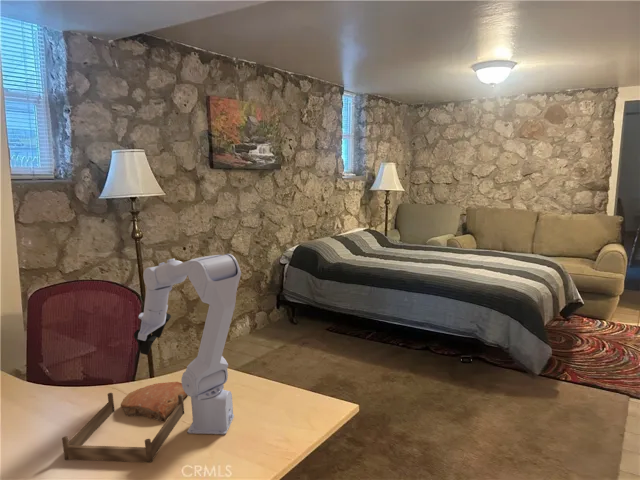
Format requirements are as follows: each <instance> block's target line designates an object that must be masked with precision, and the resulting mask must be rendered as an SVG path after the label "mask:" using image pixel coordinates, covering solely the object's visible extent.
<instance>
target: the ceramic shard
mask: <svg viewBox="0 0 640 480" xmlns="http://www.w3.org/2000/svg"><path fill="white" fill-rule="evenodd" d="M180 394H182V395H183V400H184V399H185V398H187V397H188V395H187V394H186V393H185V391H184V389H183V387H182V382H181V381H168V382H160V383H159V382H158V383H153V384H150V385H146V386H144V387H141V388H138V389H135V390H133V391H131V392H129V393H128V394H127V395H125V397H124V398H123V399H122V401H121V402H120V407H121V409H123V410H124V413H125V414H126V416H127V417H146V418H148V419H153V420H157V421H159V422H160V423H162V422H164V423H165V422H166V421H167V419H168V418H169V417H170V415H171V414H172V412H173V411H174V410H175V408H176V407H177V405H178V404H179V402H178V395H180Z"/></svg>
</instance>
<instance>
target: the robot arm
mask: <svg viewBox="0 0 640 480" xmlns="http://www.w3.org/2000/svg"><path fill="white" fill-rule="evenodd" d="M142 276H143V277H142V278H143V282H144V285H145V287H146V289H145V290H146V291H145V298H144V307H143V312H140V313H139V314H138V319H140V320H141V323H140V329H136V330H135V332H134V333H133V338H134V339H135V341H136V342H137V344H138V347H139V353H140V354H141V355H145V356H148V355H149V354H150V351H151V348H152V345H153V343H154V342H155V341H156V340H157V338H158V339H159V338H161V336H162V333H163V332H164V329H165V327H166V324H167V323H168V322H169V320H171V318H172V315H171V314H170V313H167V311H168V309H169V304H168V302H169V296H170V292H171V291H172V290H173V286H175V285H177V284H181V283H183V282H185V280H186V279H188V280H189V281H190V283H191V284H192V287H193V288H194V290H195V291H196V293H197V295H198V297H199V298H200V300H201V302H202V303H204V304H208V305H209V306H208V310H207V313H206V318H205V323H204V327H203V331H202V335H201V339H200V344H199V348H198V353H197V356H196V357H195V358H194V359H193V360H191V362H189V364H188V365H187V366H186V369H185V371H184V372H183V373H182V376H181V380H180V383H182V387H183V389H184V391H185V393H186V394H187V397H190V401H191V412H192V413H191V414H192V423H191V424H190V426H189V428H188V429H187V431H186V432H187V434H197V435H198V434H200V435H203V434H204V435H226V434H227V432H229V431H228V430H229V428H230V426H231V425H232V422H233V420H234V418H235V414H234V407H233V393H232V391H230V390H226V389H224V388H225V387H224V384H226V383H227V382H228V376H229V373H228V368H229V363H228V362H227V360H226V358H224V356H223V353H224V349H225V345H226V341H227V339H228V338H227V337H228V334H229V332H230V331H229V330H230V326H231V322H232V320H233V315H234V312H235V308H236V300H237V299H236V298H237V291H238V287H239V283H240V279H241V277H242V271H241V268H240V265H239V262H238V260H237V259H236V257H235V256H234V255H233V254H231V253H225V254H213V255H205V256H200V257H196V258H191V259H189V260H185V261H184V262H183V261H180V260H177V259H176V258H170V259H167V260H166V262H164V261H163V262H160V263H158V265H156V266H151V267H150V266H149V267H146V268H145V269H144V270H143V274H142ZM187 277H188V278H187Z"/></svg>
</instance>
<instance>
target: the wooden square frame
mask: <svg viewBox="0 0 640 480" xmlns="http://www.w3.org/2000/svg"><path fill="white" fill-rule="evenodd" d="M107 400H108V401H107V403H105V404H104V406H103V407H102V408H101V409H100V410H99V411H98V412H97V413H96V414H95V415H94V416H93V417H92V418H91V419H90V420H89V421H88V422H87V423H86V424H85V425H84V426H83V427H81V429H80V430H79V431H78V432H77V433H76V434H75V435H74V436H73V437H72V438H70V440H69V436H68V435H67V436H66V435H65V436H62V438H61V441H62V448H63V456H64V460H65V461H69V460H70V461H71V460H72V461H73V460H78V461H105V462H131V463H132V462H135V463H136V462H137V463H139V462H140V463H148V464H149V463H152V462H153V460H154V458H155V457H156V456H157V453H158V452H159V450H160V449H161V448H162V446H163V445H164V443H165V442H166V441H167V439H168V437H169V435H170V434H171V432H173V430H174V428H175V426H176V425H177V424H178V422H179V421H180V419H181V417H182V416H183V415H184V414H185V405H184V404H185V403H184V399H183V395H182V394H180V395H178V402H179V404H178V405H177V406H176V407H175V409H174V410H173V411H172V412H171V413H170V415H169V416H168V417H167V419H166V420H165V421H164V423H163V425H162V426H161V428H160V429H159V431H158V432H157V434H156V435H155V436H154V438H153V439H152V440H151V438H146V439H145V440H144V446H145V447H144V446H117V445H115V446H111V445H109V446H108V445H85V442H87V440H88V439H89V438H90V437H91V436H92V435H93V434H94V433H95V432H96V431H97V430H98V429H99V428H100V427H101V426H102V424H104V422H106V421H107V419H108V418H109V417H110V416H111V415H112V414H114V413H115V403H114V393H113V392H109V393H107Z"/></svg>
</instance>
